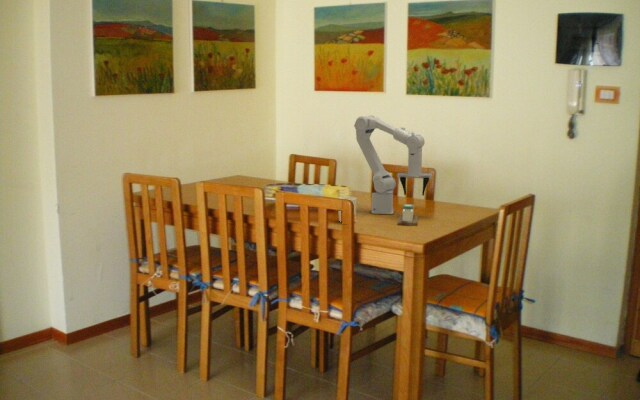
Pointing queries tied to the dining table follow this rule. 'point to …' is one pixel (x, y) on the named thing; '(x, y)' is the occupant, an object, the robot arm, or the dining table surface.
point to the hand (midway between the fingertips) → (414, 194)
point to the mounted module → (407, 215)
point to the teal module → (407, 206)
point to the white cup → (353, 203)
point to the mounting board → (412, 223)
